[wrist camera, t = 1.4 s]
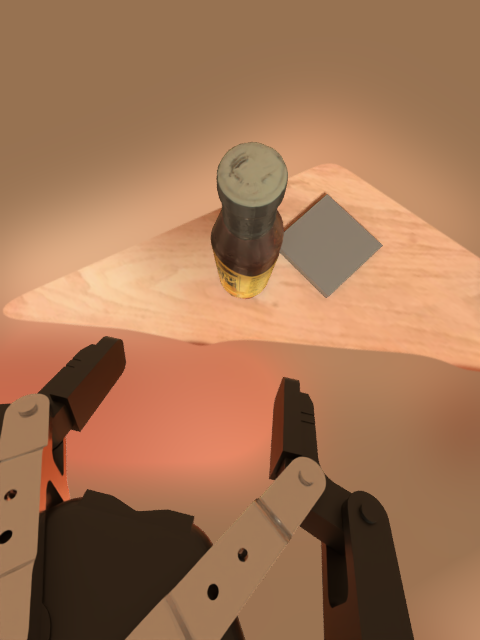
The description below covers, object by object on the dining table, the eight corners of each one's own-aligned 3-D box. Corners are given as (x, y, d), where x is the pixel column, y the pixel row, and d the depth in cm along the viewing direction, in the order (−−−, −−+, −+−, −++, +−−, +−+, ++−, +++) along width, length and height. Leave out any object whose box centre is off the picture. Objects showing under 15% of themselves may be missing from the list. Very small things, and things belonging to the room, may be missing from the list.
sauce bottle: (215, 262, 34) (180, 128, 15) (260, 250, 35) (285, 103, 15) (228, 309, 33) (208, 231, 14) (274, 296, 34) (321, 202, 14)
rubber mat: (378, 248, 34) (382, 245, 33) (326, 298, 33) (328, 296, 32) (324, 198, 36) (327, 194, 35) (272, 244, 35) (273, 241, 34)
